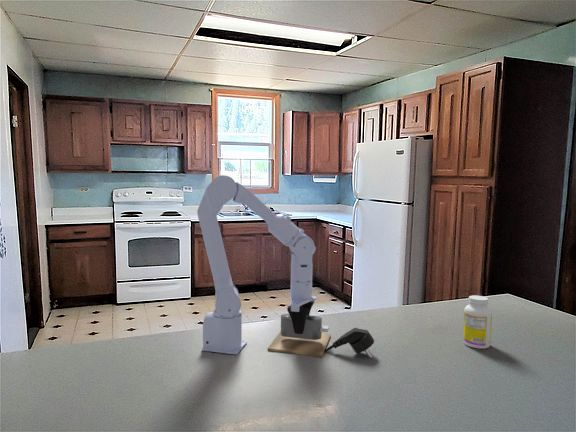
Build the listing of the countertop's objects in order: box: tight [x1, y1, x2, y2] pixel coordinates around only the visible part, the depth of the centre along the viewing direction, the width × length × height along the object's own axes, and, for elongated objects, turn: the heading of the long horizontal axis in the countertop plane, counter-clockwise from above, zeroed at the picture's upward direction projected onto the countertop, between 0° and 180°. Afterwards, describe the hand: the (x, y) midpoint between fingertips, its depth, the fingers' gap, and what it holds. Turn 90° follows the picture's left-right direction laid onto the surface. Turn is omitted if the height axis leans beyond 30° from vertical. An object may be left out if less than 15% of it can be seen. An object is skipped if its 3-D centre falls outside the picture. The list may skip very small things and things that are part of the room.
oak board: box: [267, 330, 331, 358], centre depth 109 cm, size 14×14×1 cm
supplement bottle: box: [462, 294, 493, 350], centre depth 109 cm, size 7×7×13 cm
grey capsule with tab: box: [280, 313, 330, 340], centre depth 109 cm, size 13×4×5 cm, turn 76°
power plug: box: [324, 327, 375, 359], centre depth 103 cm, size 6×8×12 cm
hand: (300, 330), depth 109 cm, fingers closed on grey capsule with tab, 4 cm apart
